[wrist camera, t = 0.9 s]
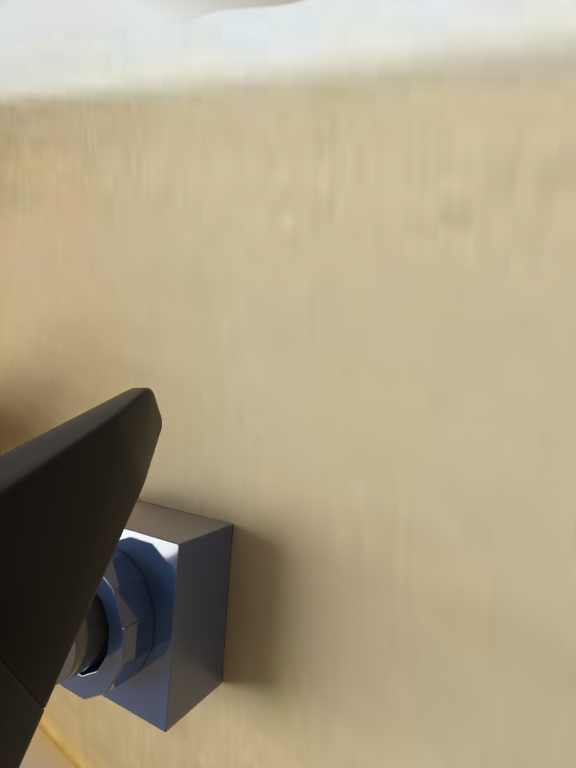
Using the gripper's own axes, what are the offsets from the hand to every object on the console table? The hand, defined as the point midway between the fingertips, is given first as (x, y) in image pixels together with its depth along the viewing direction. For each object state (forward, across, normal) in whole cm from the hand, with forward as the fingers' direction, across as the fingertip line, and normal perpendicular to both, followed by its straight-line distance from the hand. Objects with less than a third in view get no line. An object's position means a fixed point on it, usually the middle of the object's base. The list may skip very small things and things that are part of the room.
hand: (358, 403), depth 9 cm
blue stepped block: (+9, +13, +21) cm, 27 cm away
